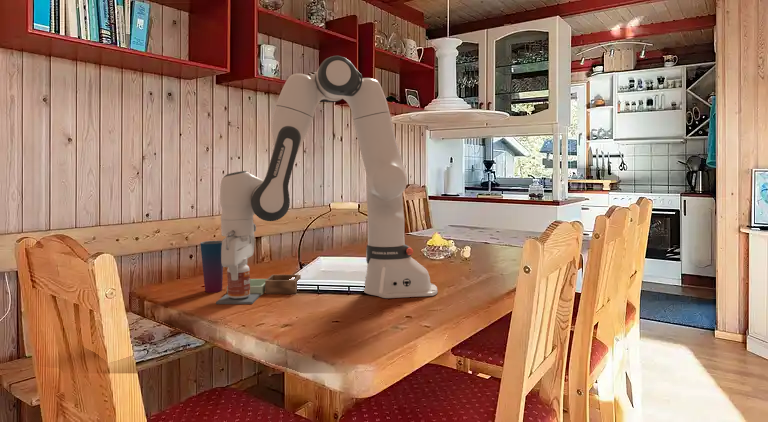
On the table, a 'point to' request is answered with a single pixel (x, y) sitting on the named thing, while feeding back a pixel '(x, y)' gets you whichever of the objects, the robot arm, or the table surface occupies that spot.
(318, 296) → the table surface
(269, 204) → the robot arm
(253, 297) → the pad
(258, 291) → the rim tray
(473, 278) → the table surface
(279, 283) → the crate
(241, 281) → the pill bottle
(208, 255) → the cup
